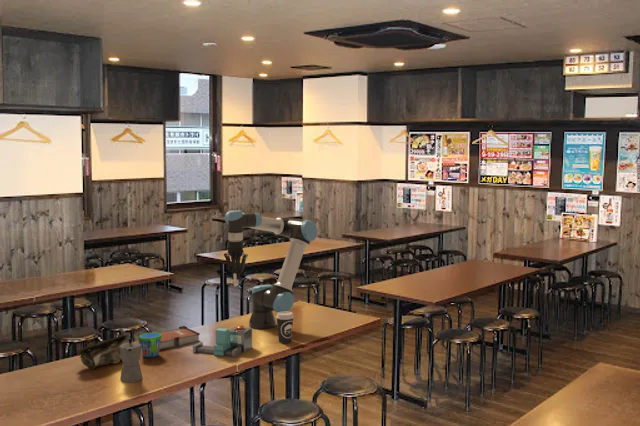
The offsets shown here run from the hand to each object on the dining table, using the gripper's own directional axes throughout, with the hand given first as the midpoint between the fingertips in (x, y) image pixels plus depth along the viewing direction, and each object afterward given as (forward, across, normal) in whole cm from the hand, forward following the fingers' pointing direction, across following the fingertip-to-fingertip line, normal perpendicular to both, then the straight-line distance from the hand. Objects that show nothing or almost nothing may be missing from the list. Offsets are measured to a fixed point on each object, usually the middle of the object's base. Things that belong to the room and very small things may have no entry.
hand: (236, 285), depth 337 cm
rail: (+29, 0, -21) cm, 36 cm away
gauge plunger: (+24, +8, -12) cm, 28 cm away
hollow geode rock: (+30, -41, -53) cm, 74 cm away
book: (+30, -32, -14) cm, 46 cm away
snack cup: (+30, -28, -36) cm, 54 cm away
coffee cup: (+30, +24, +8) cm, 39 cm away
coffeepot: (+30, -18, -65) cm, 74 cm away
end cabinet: (+29, +8, -12) cm, 33 cm away
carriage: (+29, +3, -21) cm, 36 cm away
